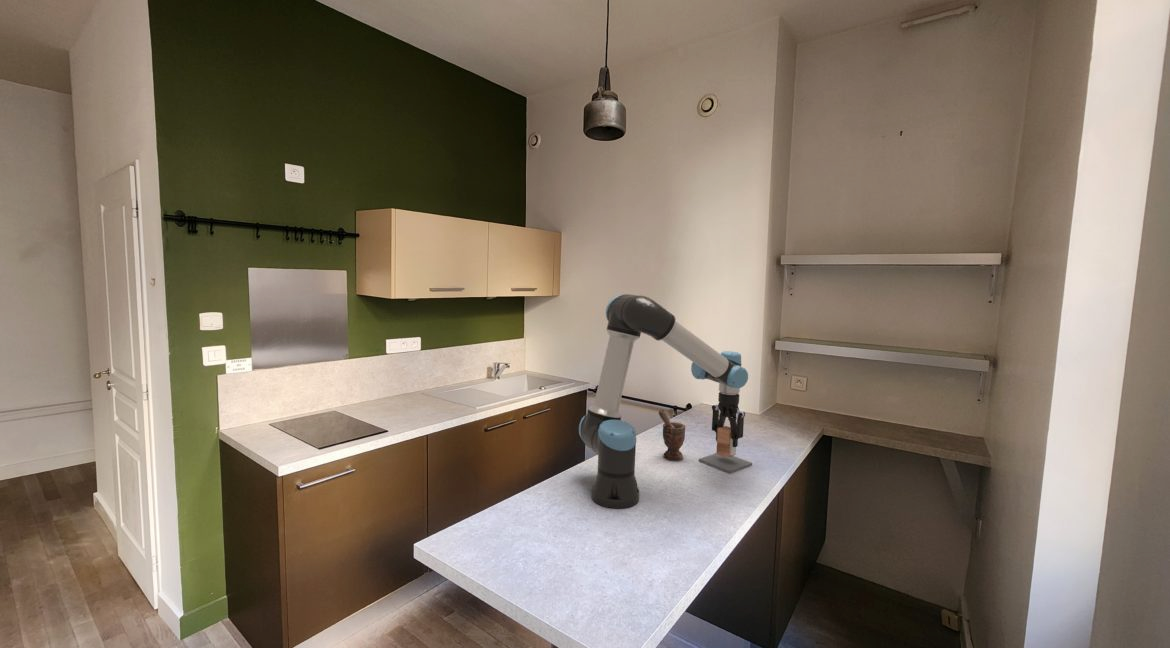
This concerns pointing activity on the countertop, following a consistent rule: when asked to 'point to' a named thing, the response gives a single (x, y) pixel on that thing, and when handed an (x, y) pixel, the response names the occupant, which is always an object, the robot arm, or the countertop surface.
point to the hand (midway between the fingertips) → (726, 452)
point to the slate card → (725, 463)
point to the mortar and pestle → (672, 437)
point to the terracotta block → (724, 441)
